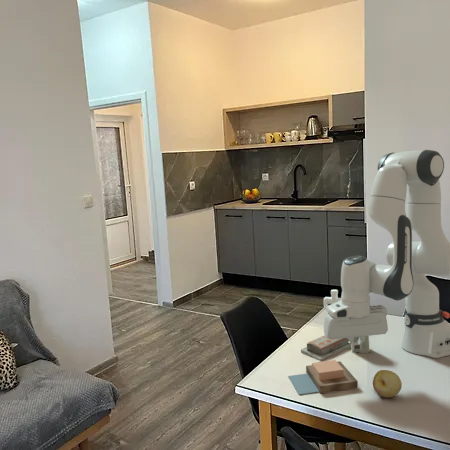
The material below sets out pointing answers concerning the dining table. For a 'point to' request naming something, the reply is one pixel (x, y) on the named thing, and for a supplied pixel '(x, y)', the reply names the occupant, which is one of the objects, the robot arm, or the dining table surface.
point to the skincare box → (364, 345)
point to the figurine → (331, 299)
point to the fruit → (387, 383)
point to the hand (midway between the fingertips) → (356, 348)
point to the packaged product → (325, 347)
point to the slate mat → (303, 384)
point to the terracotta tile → (327, 370)
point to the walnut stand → (333, 381)
